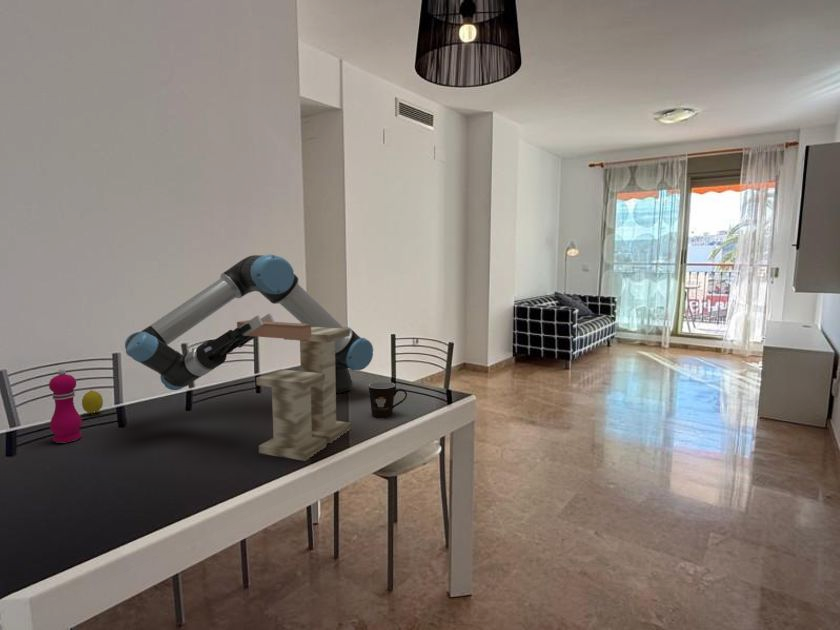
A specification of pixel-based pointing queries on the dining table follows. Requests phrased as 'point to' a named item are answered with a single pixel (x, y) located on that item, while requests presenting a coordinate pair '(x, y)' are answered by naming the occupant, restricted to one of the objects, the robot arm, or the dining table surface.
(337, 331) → the two-tier stand
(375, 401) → the coffee mug
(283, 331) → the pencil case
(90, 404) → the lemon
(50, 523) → the dining table surface
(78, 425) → the pepper mill
